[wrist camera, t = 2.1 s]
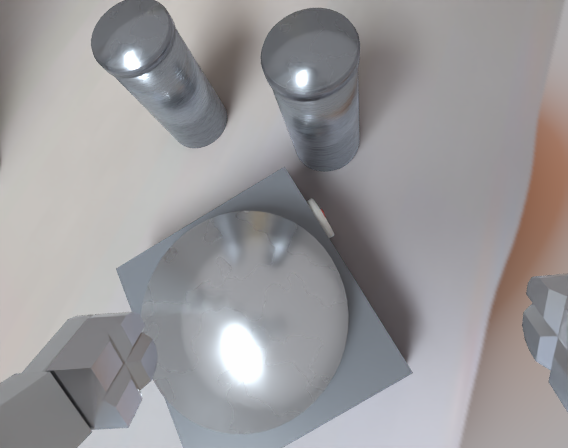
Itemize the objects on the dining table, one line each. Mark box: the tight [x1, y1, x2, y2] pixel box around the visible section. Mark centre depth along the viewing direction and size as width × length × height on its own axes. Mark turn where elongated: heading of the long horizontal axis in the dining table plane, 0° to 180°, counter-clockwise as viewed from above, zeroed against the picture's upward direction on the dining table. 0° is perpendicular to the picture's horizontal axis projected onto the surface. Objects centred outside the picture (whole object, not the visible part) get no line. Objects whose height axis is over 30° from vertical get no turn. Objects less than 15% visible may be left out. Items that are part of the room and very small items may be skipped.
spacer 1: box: [91, 0, 227, 148], centre depth 24 cm, size 5×5×9 cm
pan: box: [141, 211, 349, 434], centre depth 19 cm, size 11×11×1 cm
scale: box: [116, 167, 413, 448], centre depth 21 cm, size 13×13×3 cm
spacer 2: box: [261, 8, 360, 172], centre depth 21 cm, size 5×5×9 cm
